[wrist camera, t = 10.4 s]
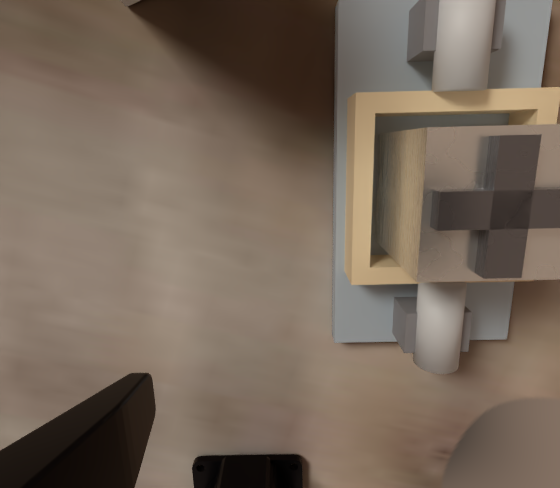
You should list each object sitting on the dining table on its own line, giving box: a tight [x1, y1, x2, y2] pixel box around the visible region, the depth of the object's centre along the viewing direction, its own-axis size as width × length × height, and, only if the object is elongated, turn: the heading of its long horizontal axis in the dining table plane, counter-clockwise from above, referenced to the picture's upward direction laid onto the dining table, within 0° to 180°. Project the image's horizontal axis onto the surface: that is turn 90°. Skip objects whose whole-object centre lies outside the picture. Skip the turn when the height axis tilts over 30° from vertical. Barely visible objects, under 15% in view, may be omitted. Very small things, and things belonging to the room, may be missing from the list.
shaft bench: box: [332, 0, 560, 374], centre depth 17 cm, size 16×9×4 cm, turn 1°
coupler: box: [375, 124, 560, 282], centre depth 15 cm, size 5×5×7 cm
